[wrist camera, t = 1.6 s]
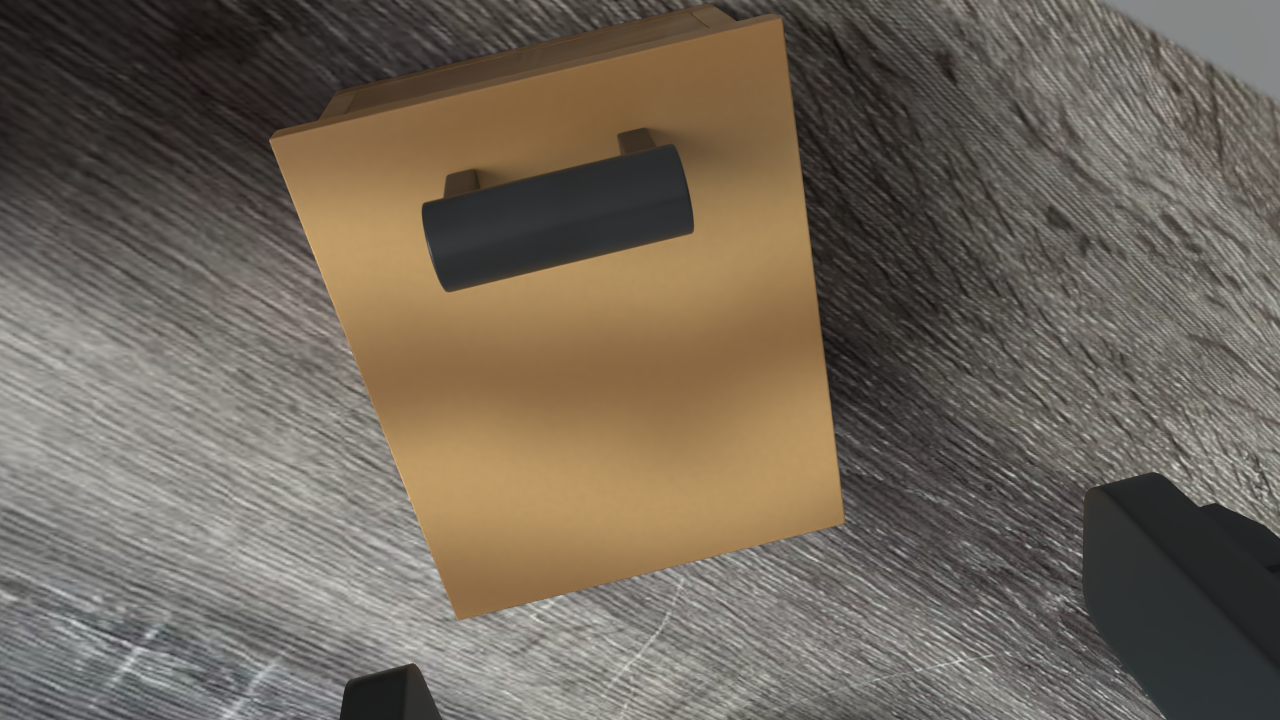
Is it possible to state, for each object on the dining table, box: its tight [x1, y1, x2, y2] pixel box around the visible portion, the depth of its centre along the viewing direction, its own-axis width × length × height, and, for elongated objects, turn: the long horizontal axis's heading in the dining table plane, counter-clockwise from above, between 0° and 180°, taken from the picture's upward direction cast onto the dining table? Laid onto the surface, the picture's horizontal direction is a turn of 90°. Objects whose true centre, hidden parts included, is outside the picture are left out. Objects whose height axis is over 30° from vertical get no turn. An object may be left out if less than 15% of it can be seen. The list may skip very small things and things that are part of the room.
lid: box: [269, 13, 845, 620], centre depth 23 cm, size 14×12×5 cm
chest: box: [318, 3, 737, 121], centre depth 29 cm, size 14×12×8 cm
